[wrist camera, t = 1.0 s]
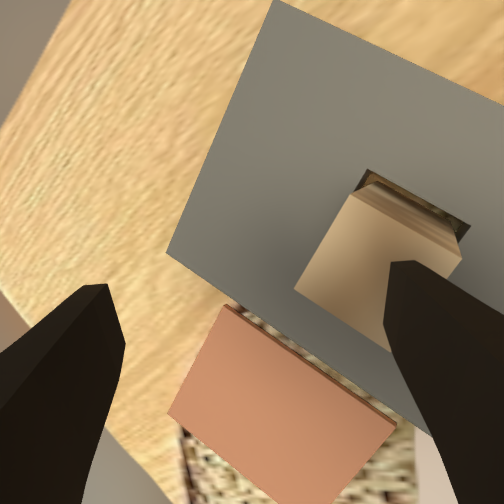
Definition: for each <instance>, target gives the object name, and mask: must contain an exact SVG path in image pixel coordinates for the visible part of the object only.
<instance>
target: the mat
mask: <svg viewBox="0 0 504 504" xmlns="http://www.w3.org/2000/svg"><path fill="white" fill-rule="evenodd" d="M167 414H168V415H169V416H171V417H172V418H173V419H174V420H176V421H177V422H178V423H179V424H181V425H182V426H183V427H184V428H185V429H187V430H188V431H189V432H190V433H192V434H193V435H194V436H195V437H197V438H198V439H199V440H200V441H202V442H203V443H204V444H205V445H206V446H208V447H209V448H210V449H211V450H213V451H214V452H215V453H216V454H218V455H219V456H220V457H221V458H223V459H224V460H225V461H226V462H228V463H229V464H230V465H231V466H232V467H234V468H235V469H236V470H237V471H239V472H240V473H241V474H242V475H244V476H245V477H246V478H247V479H249V480H250V481H251V482H252V483H253V484H255V485H256V486H257V487H258V488H260V489H261V490H262V491H263V492H265V493H266V494H267V495H268V496H270V497H271V498H272V499H273V500H275V501H276V502H277V503H278V504H331V503H332V502H333V501H334V500H335V498H336V497H337V496H338V495H339V494H340V493H341V491H342V490H343V489H344V488H345V487H346V486H347V484H348V483H349V482H350V481H351V480H352V479H353V477H354V476H355V475H356V474H357V473H358V472H359V470H360V469H361V468H362V467H363V466H364V465H365V463H366V462H367V461H368V460H369V459H370V458H371V456H372V455H373V454H374V453H375V452H376V451H377V449H378V448H379V447H380V446H381V445H382V444H383V442H384V441H385V440H386V439H387V438H388V436H389V435H390V434H391V433H392V432H393V431H394V429H395V428H396V425H397V423H396V422H394V421H393V420H391V419H390V418H389V417H387V416H386V415H384V414H383V413H381V412H380V411H379V410H377V409H376V408H374V407H373V406H371V405H370V404H369V403H367V402H366V401H364V400H363V399H361V398H360V397H359V396H357V395H356V394H354V393H353V392H351V391H350V390H348V389H347V388H346V387H344V386H343V385H341V384H340V383H338V382H337V381H336V380H334V379H333V378H331V377H330V376H328V375H327V374H326V373H324V372H323V371H321V370H320V369H318V368H317V367H316V366H314V365H313V364H311V363H310V362H308V361H307V360H306V359H304V358H303V357H301V356H300V355H298V354H297V353H296V352H294V351H293V350H291V349H290V348H288V347H287V346H286V345H284V344H283V343H281V342H280V341H278V340H277V339H276V338H274V337H273V336H271V335H270V334H268V333H267V332H266V331H264V330H263V329H261V328H260V327H258V326H257V325H256V324H254V323H253V322H251V321H250V320H248V319H247V318H246V317H244V316H243V315H241V314H240V313H238V312H237V311H235V310H234V309H233V308H231V307H230V306H228V305H227V304H226V305H224V306H223V308H222V310H221V312H220V314H219V315H218V317H217V319H216V321H215V323H214V325H213V327H212V329H211V331H210V333H209V335H208V337H207V338H206V340H205V342H204V344H203V346H202V348H201V350H200V352H199V354H198V356H197V358H196V360H195V361H194V363H193V365H192V367H191V369H190V371H189V373H188V375H187V377H186V379H185V381H184V383H183V384H182V386H181V388H180V390H179V392H178V394H177V396H176V398H175V400H174V402H173V404H172V406H171V407H170V409H169V411H168V413H167Z"/></svg>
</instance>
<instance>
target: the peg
mask: <svg viewBox="0 0 504 504" xmlns="http://www.w3.org/2000/svg"><path fill="white" fill-rule="evenodd" d="M407 260H416V261H418V262H419V263H421V264H423V265H425V266H426V267H428V268H430V269H431V270H433V271H434V272H436V273H437V274H439V275H441V276H442V277H444V278H445V279H447V278H448V277H449V275H450V274H451V273H452V271H453V270H454V269H455V268H456V266H457V265H458V264H459V262H460V261H461V260H462V256H461V253H460V250H459V247H458V243H457V240H456V237H455V234H454V231H453V228H452V224H451V221H449V220H447V219H446V218H444V217H442V216H440V215H438V214H437V213H435V212H433V211H431V210H429V209H428V208H426V207H424V206H422V205H420V204H419V203H417V202H415V201H413V200H411V199H410V198H408V197H406V196H404V195H402V194H401V193H399V192H397V191H395V190H393V189H392V188H390V187H388V186H386V185H384V184H383V183H381V182H379V181H376V182H374V183H372V184H370V185H368V186H365V187H363V188H361V189H359V190H357V191H355V192H353V193H351V194H350V195H349V196H348V198H347V200H346V201H345V203H344V205H343V207H342V208H341V210H340V212H339V213H338V215H337V217H336V218H335V220H334V222H333V223H332V225H331V227H330V228H329V230H328V232H327V233H326V235H325V237H324V239H323V240H322V242H321V244H320V245H319V247H318V249H317V250H316V252H315V254H314V255H313V257H312V259H311V260H310V262H309V264H308V265H307V267H306V269H305V271H304V272H303V274H302V276H301V277H300V279H299V281H298V282H297V284H296V286H295V287H294V289H295V290H296V291H298V292H299V293H301V294H302V295H304V296H305V297H307V298H308V299H310V300H311V301H313V302H314V303H316V304H317V305H319V306H320V307H322V308H323V309H325V310H326V311H328V312H330V313H331V314H333V315H334V316H336V317H337V318H339V319H340V320H342V321H343V322H345V323H346V324H348V325H349V326H351V327H352V328H354V329H355V330H357V331H358V332H360V333H361V334H363V335H364V336H366V337H367V338H369V339H371V340H372V341H374V342H375V343H377V344H378V345H380V346H381V347H383V348H384V349H386V350H387V351H389V352H391V348H390V345H389V342H388V339H387V336H386V333H385V330H384V326H383V318H384V310H385V302H386V294H387V287H388V279H389V271H390V263H391V262H394V261H407Z"/></svg>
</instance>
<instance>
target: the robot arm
mask: <svg viewBox="0 0 504 504" xmlns="http://www.w3.org/2000/svg"><path fill="white" fill-rule="evenodd" d="M383 326H384V330H385V333H386V336H387V339H388V342H389V345H390V348H391V351H392V354H393V357H394V359H395V361H396V364H397V366H398V368H399V370H400V372H401V374H402V376H403V378H404V380H405V382H406V384H407V387H408V389H409V391H410V393H411V395H412V397H413V399H414V401H415V403H416V405H417V407H418V409H419V411H420V413H421V415H422V417H423V419H424V421H425V423H426V425H427V427H428V429H429V431H430V433H431V435H432V437H433V440H434V442H435V444H436V446H437V448H438V451H439V453H440V456H441V458H442V461H443V463H444V466H445V469H446V471H447V474H448V477H449V480H450V482H451V485H452V488H453V490H454V493H455V496H456V498H457V501H458V504H504V315H503V314H502V313H500V312H498V311H497V310H495V309H493V308H491V307H490V306H488V305H486V304H485V303H483V302H482V301H480V300H478V299H477V298H475V297H473V296H472V295H470V294H469V293H467V292H465V291H464V290H462V289H461V288H459V287H458V286H456V285H455V284H453V283H451V282H450V281H448V280H447V279H445V278H444V277H442V276H441V275H439V274H437V273H436V272H434V271H433V270H431V269H430V268H428V267H426V266H425V265H423V264H421V263H419V262H418V261H416V260H407V261H394V262H391V263H390V271H389V279H388V287H387V294H386V302H385V310H384V318H383ZM125 345H126V343H125V340H124V336H123V333H122V330H121V326H120V323H119V320H118V317H117V313H116V310H115V307H114V303H113V300H112V297H111V294H110V290H109V287H108V284H95V285H83V286H82V287H81V288H79V289H78V290H77V291H75V292H74V293H73V294H72V295H70V296H69V297H68V298H67V299H66V300H64V301H63V302H62V303H61V304H60V305H59V306H57V307H56V308H55V309H54V310H53V311H51V312H50V313H49V314H48V315H47V316H46V317H44V318H43V319H42V320H41V321H40V322H38V323H37V324H36V325H35V326H34V327H33V328H31V329H30V330H29V331H28V332H27V333H26V334H24V335H23V336H22V337H21V338H19V339H18V340H17V341H15V342H14V343H13V344H12V345H10V346H9V347H8V348H7V349H5V350H4V351H3V352H1V353H0V504H81V502H82V498H83V494H84V489H85V485H86V481H87V478H88V474H89V471H90V467H91V464H92V461H93V458H94V455H95V451H96V449H97V445H98V443H99V440H100V437H101V434H102V431H103V428H104V425H105V422H106V419H107V416H108V413H109V410H110V407H111V403H112V400H113V397H114V394H115V391H116V388H117V385H118V381H119V378H120V373H121V368H122V363H123V357H124V351H125Z"/></svg>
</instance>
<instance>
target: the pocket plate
mask: <svg viewBox="0 0 504 504" xmlns="http://www.w3.org/2000/svg"><path fill="white" fill-rule="evenodd" d="M371 171H373V172H375V173H376V174H378V175H380V176H382V177H384V178H385V179H387V180H389V181H391V182H393V183H395V184H396V185H398V186H400V187H402V188H404V189H405V190H407V191H409V192H411V193H413V194H415V195H416V196H418V197H420V198H422V199H424V200H425V201H427V202H429V203H431V204H433V205H435V206H436V207H438V208H440V209H442V210H444V211H445V212H447V213H449V214H451V215H453V216H454V217H456V218H458V219H460V220H462V221H464V222H463V223H462V225H461V226H460V227H459V229H458V230H457V232H456V233H455V237H456V240H457V243H458V247H459V250H460V253H461V256H462V260H461V261H460V262H459V264H458V265H457V266H456V268H455V269H454V270H453V271H452V273H451V274H450V275H449V277H448V278H447V280H448V281H450V282H451V283H453V284H455V285H456V286H458V287H459V288H461V289H462V290H464V291H465V292H467V293H469V294H470V295H472V296H473V297H475V298H477V299H478V300H480V301H482V302H483V303H485V304H486V305H488V306H490V307H491V308H493V309H495V310H497V311H498V312H500V313H502V314H503V315H504V106H503V105H501V104H499V103H497V102H495V101H492V100H490V99H488V98H486V97H484V96H482V95H480V94H478V93H475V92H473V91H471V90H469V89H467V88H465V87H463V86H460V85H458V84H456V83H454V82H452V81H450V80H448V79H446V78H443V77H441V76H439V75H437V74H435V73H433V72H431V71H429V70H426V69H424V68H422V67H420V66H418V65H416V64H414V63H412V62H409V61H407V60H405V59H403V58H401V57H399V56H397V55H395V54H392V53H390V52H388V51H386V50H384V49H382V48H380V47H378V46H375V45H373V44H371V43H369V42H367V41H365V40H363V39H361V38H358V37H356V36H354V35H352V34H350V33H348V32H346V31H344V30H341V29H339V28H337V27H335V26H333V25H331V24H329V23H327V22H324V21H322V20H320V19H318V18H316V17H314V16H312V15H310V14H307V13H305V12H303V11H301V10H299V9H297V8H295V7H293V6H290V5H288V4H286V3H284V2H282V1H280V0H273V1H272V4H271V6H270V8H269V11H268V13H267V15H266V18H265V20H264V22H263V25H262V27H261V30H260V32H259V34H258V37H257V39H256V41H255V44H254V46H253V48H252V51H251V53H250V55H249V58H248V60H247V63H246V65H245V67H244V70H243V72H242V74H241V77H240V79H239V81H238V84H237V86H236V88H235V91H234V93H233V95H232V98H231V100H230V103H229V105H228V107H227V110H226V112H225V114H224V117H223V119H222V121H221V124H220V126H219V128H218V131H217V133H216V136H215V138H214V140H213V143H212V145H211V147H210V150H209V152H208V154H207V157H206V159H205V161H204V164H203V166H202V168H201V171H200V173H199V176H198V178H197V180H196V183H195V185H194V187H193V190H192V192H191V194H190V197H189V199H188V201H187V204H186V206H185V209H184V211H183V213H182V216H181V218H180V220H179V223H178V225H177V227H176V230H175V232H174V234H173V237H172V239H171V241H170V244H169V246H168V249H167V251H166V253H167V254H168V255H170V256H171V257H172V258H174V259H175V260H177V261H178V262H180V263H181V264H183V265H184V266H185V267H187V268H188V269H190V270H191V271H193V272H194V273H196V274H197V275H198V276H200V277H201V278H203V279H204V280H206V281H207V282H209V283H210V284H211V285H213V286H214V287H216V288H217V289H219V290H220V291H222V292H223V293H224V294H226V295H227V296H229V297H230V298H232V299H233V300H235V301H236V302H237V303H239V304H240V305H242V306H243V307H245V308H246V309H248V310H249V311H250V312H252V313H253V314H255V315H256V316H258V317H259V318H261V319H262V320H263V321H265V322H266V323H268V324H269V325H271V326H272V327H273V328H275V329H276V330H278V331H279V332H281V333H282V334H284V335H285V336H286V337H288V338H289V339H291V340H292V341H294V342H295V343H297V344H298V345H299V346H301V347H302V348H304V349H305V350H307V351H308V352H310V353H311V354H312V355H314V356H315V357H317V358H318V359H320V360H321V361H323V362H324V363H325V364H327V365H328V366H330V367H331V368H333V369H334V370H336V371H337V372H338V373H340V374H341V375H343V376H344V377H346V378H347V379H349V380H350V381H351V382H353V383H354V384H356V385H357V386H359V387H360V388H362V389H363V390H364V391H366V392H367V393H369V394H370V395H372V396H373V397H375V398H376V399H377V400H379V401H380V402H382V403H383V404H385V405H386V406H388V407H389V408H390V409H392V410H393V411H395V412H396V413H398V414H399V415H401V416H402V417H403V418H405V419H406V420H408V421H409V422H411V423H412V424H414V425H415V426H416V427H418V428H419V429H421V430H422V431H424V432H425V433H427V434H428V435H430V436H431V437H432V435H431V433H430V431H429V429H428V427H427V425H426V423H425V421H424V419H423V417H422V415H421V413H420V411H419V409H418V407H417V405H416V403H415V401H414V399H413V397H412V395H411V393H410V391H409V389H408V387H407V384H406V382H405V380H404V378H403V376H402V374H401V372H400V370H399V368H398V366H397V364H396V361H395V359H394V357H393V354H392V351H391V352H389V351H387V350H386V349H384V348H383V347H381V346H380V345H378V344H377V343H375V342H374V341H372V340H371V339H369V338H367V337H366V336H364V335H363V334H361V333H360V332H358V331H357V330H355V329H354V328H352V327H351V326H349V325H348V324H346V323H345V322H343V321H342V320H340V319H339V318H337V317H336V316H334V315H333V314H331V313H330V312H328V311H326V310H325V309H323V308H322V307H320V306H319V305H317V304H316V303H314V302H313V301H311V300H310V299H308V298H307V297H305V296H304V295H302V294H301V293H299V292H298V291H296V290H295V289H294V287H295V286H296V284H297V282H298V281H299V279H300V277H301V276H302V274H303V272H304V271H305V269H306V267H307V265H308V264H309V262H310V260H311V259H312V257H313V255H314V254H315V252H316V250H317V249H318V247H319V245H320V244H321V242H322V240H323V239H324V237H325V235H326V233H327V232H328V230H329V228H330V227H331V225H332V223H333V222H334V220H335V218H336V217H337V215H338V213H339V212H340V210H341V208H342V207H343V205H344V203H345V201H346V200H347V198H348V196H349V195H350V194H351V193H353V192H355V191H357V190H359V189H361V188H362V186H363V184H364V183H365V181H366V179H367V178H368V176H369V174H370V173H371ZM432 438H433V437H432Z"/></svg>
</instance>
